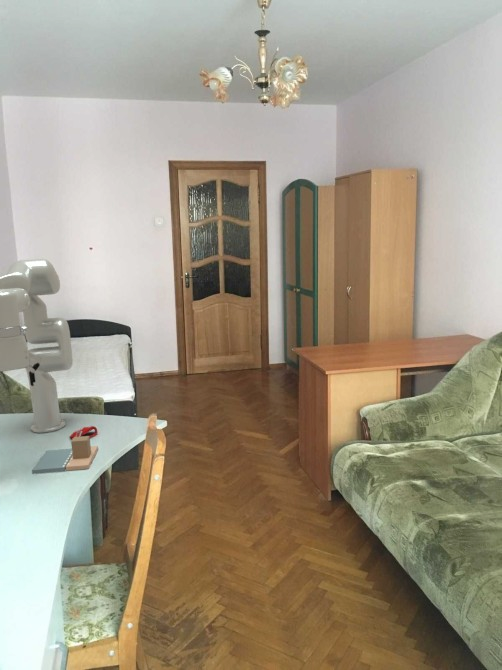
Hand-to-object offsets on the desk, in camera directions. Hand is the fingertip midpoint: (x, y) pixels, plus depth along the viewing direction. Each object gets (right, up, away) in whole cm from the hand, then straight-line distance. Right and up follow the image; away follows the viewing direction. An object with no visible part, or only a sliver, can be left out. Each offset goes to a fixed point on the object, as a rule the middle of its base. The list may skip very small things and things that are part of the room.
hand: (15, 387), depth 168 cm
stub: (+16, -25, +13) cm, 33 cm away
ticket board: (+8, -26, +13) cm, 30 cm away
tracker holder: (+10, -22, +34) cm, 41 cm away
